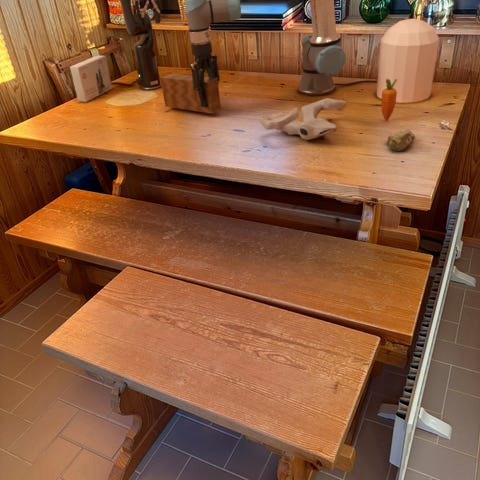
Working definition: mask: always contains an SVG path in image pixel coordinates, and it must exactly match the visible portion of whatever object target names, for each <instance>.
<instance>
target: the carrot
mask: <svg viewBox="0 0 480 480" xmlns="http://www.w3.org/2000/svg"><path fill="white" fill-rule="evenodd" d="M396 81H397V79H395V80H394V82H393V84H391V82H390V79H386V83H387V85H386V87H387V88H386V89H384V90H383V91H382V98H380V99H381V100H380V101H381V102H380V104H381V112H382V113H381V114H382V117H383V119H384V120H385V121H386V122H388V121H389V119H390V118H391V117H392V114H393V112H394V109H395V106H396V103H397V102H396V95H397V91H396V90H395V89H394V88H393V86H394V84H395V83H396ZM389 85H390V86H389ZM391 85H392V86H391Z"/></svg>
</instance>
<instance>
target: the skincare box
mask: <svg viewBox="0 0 480 480" xmlns="http://www.w3.org/2000/svg"><path fill="white" fill-rule="evenodd" d="M69 70H70V74H71V78H72V82H73V86H74V90H75V94H76V98H77V102H81V103H82V102H84V103H87V102H89V101H91V100H93V99H95V98H97V97H100V96H101V95H103V94H105V93H107V92H108V91H110V90H112V89H113V86H112V85H113V84H111V82H112V81H111V76H110V72H109V71H110V70H109V66H108V62H107V57H106V55H100V54H99V55H95V56H92V57H90V58H87V59H85V60H83V61H80V62H78V63H75V64H73V65H71V66H69Z"/></svg>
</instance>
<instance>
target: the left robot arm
mask: <svg viewBox="0 0 480 480" xmlns="http://www.w3.org/2000/svg"><path fill="white" fill-rule="evenodd" d="M119 3H120V7H121V13H122V16H123V17H122V18H123V21H124V25H125V28H126V31H127V33H128V34H129V36H131V37H133V38H134V37H139V36H141V37H140V39H139V40H138V41H136V42H135V43H134V45H133V50H134V54H135V59H136V64H137V67H136V71H137V72H136V73H137V78H135V80H134V81H132V83H124V82H121V81H118V82H117V81H113V82H112V81H111V85H121V86H126V87H131V86H134V84H136V85H137V86H139V87H140V89H142V90H145V91H151V90H152V91H153V90H157V89H159V88H162V86H161V81H160V77H161V76H160V73H159V72H160V71H159V67H158V66H159V65H158V62H157V61H158V60H157V55H156V50H155V38H154V30H153V24H152V19H151V16H150V14H149V13H148V12H147V11H148V10H151V11H152V12H153V16H154V22H155V23H156V24H161V15H160V14H161V12H162V11H163V10H164V7H163V4H162V0H119Z"/></svg>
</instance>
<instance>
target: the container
mask: <svg viewBox="0 0 480 480" xmlns="http://www.w3.org/2000/svg"><path fill="white" fill-rule="evenodd" d="M439 41H440V37H439V35H438V34H437V31H436V30H435V28H434V27H433V25H431V24H429V23H428V22H426V21H425V20H423V19H419V18H418V19H416V18H407V19H402V20H400V21H398V22H396V23H395V24H393V25H392V26H390V27H389V28H388V29H387V30H386V31H385V33H384V34H383V35H382V37H381V38H380V41H379V42H380V43H379V53H378V54H379V55H378V68H377V80H376V81H377V83H376V92H375V94H376V96H377V98H379V99H381V98H382V91H383V90H384V89H386V88H387V87H386V85H387V83H386V79H390V82H391V84H393V82H394V80H395V79H397V81H396V83H395V84H394V86H393V88H394V89H395V90H396V91H397V95H396V102H395V103H401V104H403V103H406V104H407V103H416V102H422V101H425V100H427V99H429V98H430V96H431V94H432V89H433V82H434V75H435V68H436V62H437V55H438V48H439ZM389 86H390V85H389ZM391 86H392V85H391Z"/></svg>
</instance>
